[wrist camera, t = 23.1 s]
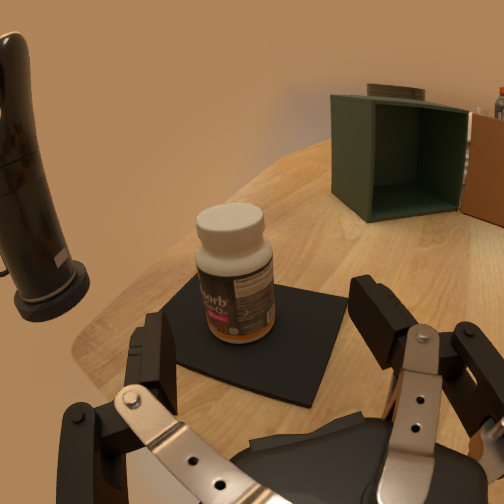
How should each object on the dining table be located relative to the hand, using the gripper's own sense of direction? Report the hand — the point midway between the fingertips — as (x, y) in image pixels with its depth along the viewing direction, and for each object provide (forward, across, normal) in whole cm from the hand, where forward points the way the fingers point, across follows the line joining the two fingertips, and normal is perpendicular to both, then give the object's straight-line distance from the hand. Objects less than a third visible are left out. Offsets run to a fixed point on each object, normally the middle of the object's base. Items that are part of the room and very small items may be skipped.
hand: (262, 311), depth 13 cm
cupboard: (+31, -29, +10) cm, 44 cm away
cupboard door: (+18, -47, +10) cm, 51 cm away
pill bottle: (+10, 0, +10) cm, 14 cm away
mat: (+10, 0, +10) cm, 14 cm away
